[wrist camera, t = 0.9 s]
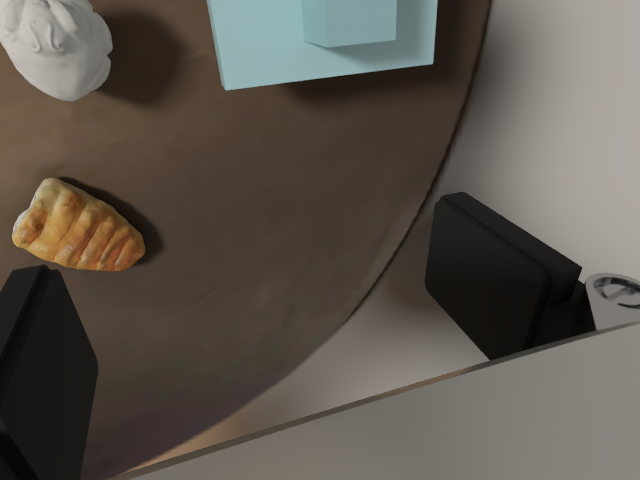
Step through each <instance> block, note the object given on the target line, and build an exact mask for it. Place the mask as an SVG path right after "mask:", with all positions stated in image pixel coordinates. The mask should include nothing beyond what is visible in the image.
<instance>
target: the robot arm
mask: <svg viewBox="0 0 640 480" xmlns="http://www.w3.org/2000/svg"><path fill="white" fill-rule="evenodd" d="M581 270H582V267H581V266H579V265H578V264H576V263H575V262H573V261H572V260H570V259H568V258H567V257H565V256H564V255H562V254H561V253H559V252H558V251H556V250H554V249H553V248H551V247H549V246H548V245H546V244H545V243H543V242H542V241H540V240H539V239H537V238H535V237H534V236H532V235H531V234H529V233H528V232H526V231H525V230H523V229H521V228H520V227H518V226H517V225H515V224H514V223H512V222H510V221H509V220H507V219H506V218H504V217H503V216H501V215H499V214H498V213H496V212H495V211H493V210H492V209H490V208H489V207H487V206H485V205H484V204H482V203H480V202H479V201H478V200H476V199H474V198H473V197H471V196H470V195H468V194H467V193H464V192H459V193H454V194H447V195H443V196H442V197H441V198H440V200H439V201H438V202H437V203H436V204H435V208H434V216H433V223H432V231H431V238H430V246H429V253H428V260H427V268H426V275H425V286H426V289H427V291H428V293H429V294H430V295H431V296H432V297H433V298H434V299H435V300H436V301H437V303H438V304H439V305H440V306H441V307H442V308H443V309H444V310H445V311H446V312H447V314H448V315H449V316H450V317H451V318H452V319H453V320H454V321H455V322H456V323H457V325H458V326H459V327H460V328H461V329H462V330H463V331H464V332H465V334H466V335H468V337H469V338H470V339H471V340H472V341H473V342H474V343H475V345H476V346H477V347H478V348H479V349H480V350H481V351H482V352H483V353H484V354H485V355H486V356H487V358H488V359H489V360H490V361H488V362H484V363H481V364H477V365H474V366H471V367H468V368H464V369H461V370H457V371H454V372H451V373H447V374H444V375H441V376H438V377H434V378H431V379H427V380H424V381H421V382H417V383H414V384H411V385H408V386H404V387H401V388H398V389H395V390H391V391H388V392H384V393H382V394H378V395H375V396H371V397H368V398H365V399H362V400H358V401H355V402H352V403H348V404H345V405H342V406H339V407H335V408H332V409H329V410H325V411H322V412H319V413H316V414H313V415H309V416H306V417H303V418H299V419H296V420H293V421H290V422H287V423H283V424H280V425H277V426H274V427H270V428H267V429H264V430H261V431H257V432H254V433H251V434H248V435H245V436H241V437H239V438H235V439H232V440H228V441H225V442H222V443H219V444H216V445H212V446H209V447H206V448H203V449H199V450H196V451H193V452H190V453H187V454H183V455H180V456H177V457H174V458H171V459H168V460H164V461H161V462H158V463H155V464H152V465H149V466H146V467H143V468H140V469H137V470H134V471H131V472H128V473H125V474H121V475H118V476H115V477H112V478H109V479H106V480H640V281H638V280H636V279H633V278H630V277H627V276H623V275H618V274H611V273H599V274H594V275H591V276H589V277H588V279H586V281H585V284H583V283H582V282H580V281H579V280H578V278H579V275H580V273H581ZM97 375H98V363H97V359H96V356H95V353H94V351H93V349H92V346H91V344H90V342H89V339H88V337H87V334H86V332H85V330H84V327H83V325H82V323H81V320H80V318H79V316H78V313H77V311H76V308H75V306H74V304H73V301H72V299H71V297H70V294H69V292H68V290H67V287H66V285H65V282H64V280H63V278H62V275H61V273H60V272H59V271H58V270H57V269H55V270H50V269H49V268H48V267H47V266H46V265H40V266H34V267H28V268H22V269H17V270H13V271H12V272H11V274H10V276H9V277H8V279H7V281H6V283H5V285H4V287H3V288H2V290H1V292H0V480H80V475H81V469H82V463H83V457H84V452H85V446H86V440H87V434H88V428H89V422H90V416H91V411H92V405H93V399H94V393H95V387H96V381H97Z"/></svg>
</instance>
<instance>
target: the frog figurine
mask: <svg viewBox="0 0 640 480" xmlns="http://www.w3.org/2000/svg"><path fill="white" fill-rule="evenodd" d="M0 42H1V44H2V45H3V47H4V48H5V49H6V51H7V53H8V55H9V57H10V59H11V60H12V61H13V63H14V66H15V67H16V69H17V70H18V71H19V72H20V73H21V74H22V75H23V76H24V77H25V79H26V80H28V81H29V82H30V83H31V84H32V85H34V86H35V87H37V88H38V89H40V90H41V91H43V92H45V93H46V94H48V95H50V96H52V97H55V98H58V99H61V100H64V101H70V102H72V101H75V100H78V99H80V98H82V97H84V96H85V95H87V94H88V93H89V92H90V91H93V90H95V89H97V88H98V87H100V86H101V85H102V84H103V83H104V82H105V80H106V79H107V77H108V75H109V71H110V66H111V61H110V59H109V58H108V56H107V55H108V54H109V53H110V52H111V51H112V48H113V44H112V39H111V34H110V31H109V29H108V27H107V24H106V23H105V21H104V20H103V19H102V17H101V16H100V15H99V14H97V13H96V12H93V7H92V5H91V3H89V2H88V0H0Z"/></svg>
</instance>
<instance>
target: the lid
mask: <svg viewBox="0 0 640 480" xmlns="http://www.w3.org/2000/svg"><path fill="white" fill-rule="evenodd" d="M437 2H438V0H207V4H208V10H209V15H210V21H211V26H212V32H213V38H214V43H215V49H216V54H217V60H218V66H219V71H220V77H221V82H222V85H223V87H224V88H225V90H232V89H240V88H248V87H256V86H263V85H271V84H279V83H287V82H295V81H303V80H310V79H318V78H326V77H334V76H342V75H350V74H357V73H365V72H373V71H381V70H389V69H397V68H404V67H412V66H420V65H428V64H433V57H434V43H435V29H436V16H437Z"/></svg>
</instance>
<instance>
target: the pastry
mask: <svg viewBox="0 0 640 480" xmlns="http://www.w3.org/2000/svg"><path fill="white" fill-rule="evenodd" d="M12 238H13V242H14V244H15V245H16V246H17V247H21V248H24V249H26V250H28V251H29V252H31V253H32V254H34V255H36V256H37V257H39V258H41V259H43V260H46V261H51V262H56V263H59V264H60V265H63V266H65V267H72V268H77V269H88V270H104V271H123V270H125V269H127V268H129V267H131V266H132V265H133V264H135V263H136V262H137V261H138V260H139V258H141V257H142V256H143V255H144V253H145V246H144V242H143V237H142V235H141V233H140V232H138V231H137V230H136V229H135V228H134V227H133V226H132V225H130V224H129V223H128V221H127V220H126V219H125V218H124V217H122V216H121V215H120V214H118V212H117V211H116V210H115V209H114V207H113V206H111V205H108V204H107V203H105V202H103V201H102V200H98V199H96V198H94V197H93V196H91V195H89V194H88V193H86V192H85V191H83V190H81V189H79V188H77V187H75V186H73V185H71V184H69V183H65V182H64V181H62V180H60V179H57V178H54V177H51V178H47V179H45V180H44V181H43V182H42V184H41V185H40V186H39V188H38V190H37V191H36V193H35V196H34V198H33V200H32V202H31V205H30V207H29V209H27V210H26V211H24V212H23V213H22V214H21V215H20V216H19V217H18V219H17V221H16V222H15V225H14V227H13V235H12Z"/></svg>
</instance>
